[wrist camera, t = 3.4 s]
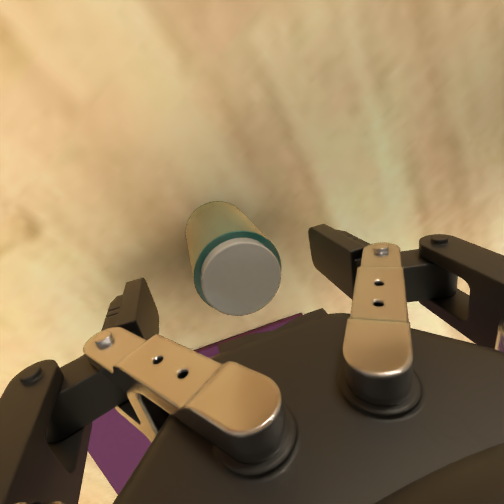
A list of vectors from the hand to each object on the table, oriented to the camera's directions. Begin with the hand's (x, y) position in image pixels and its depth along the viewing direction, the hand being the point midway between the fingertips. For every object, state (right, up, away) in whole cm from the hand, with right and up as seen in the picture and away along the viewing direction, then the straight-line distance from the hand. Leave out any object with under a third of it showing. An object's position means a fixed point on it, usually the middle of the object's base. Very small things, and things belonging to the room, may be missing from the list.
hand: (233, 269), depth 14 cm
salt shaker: (-2, +2, +7) cm, 8 cm away
